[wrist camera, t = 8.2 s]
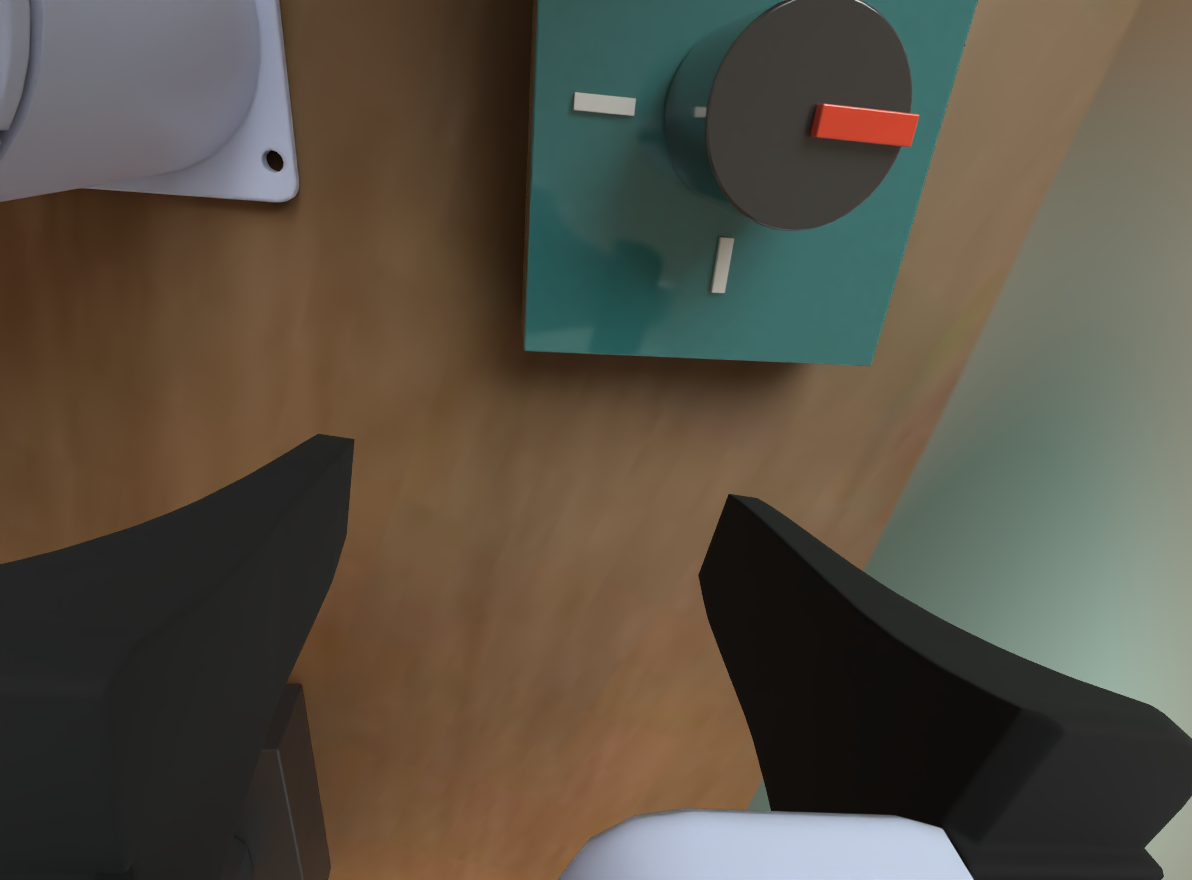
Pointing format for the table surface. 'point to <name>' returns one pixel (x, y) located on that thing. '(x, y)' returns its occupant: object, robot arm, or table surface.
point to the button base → (282, 805)
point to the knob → (792, 112)
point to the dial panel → (698, 200)
